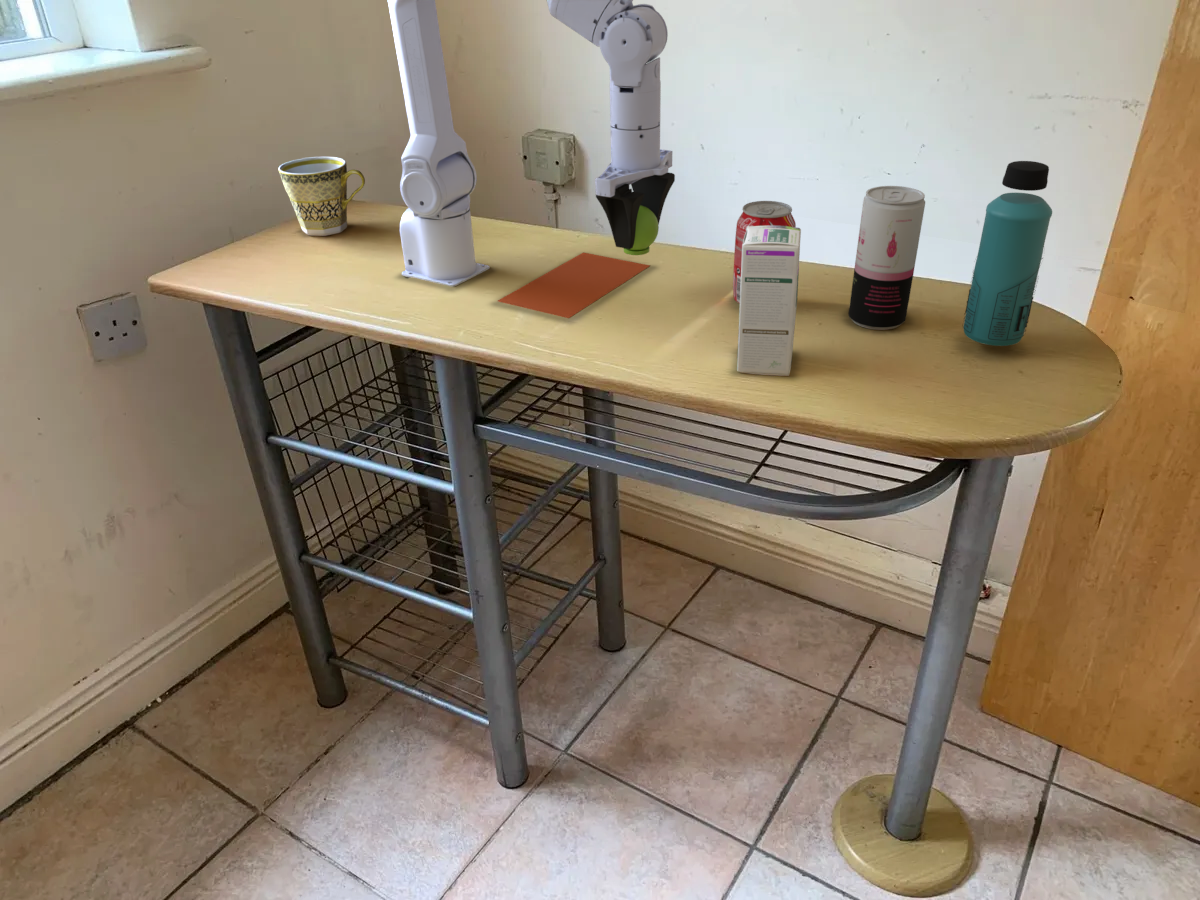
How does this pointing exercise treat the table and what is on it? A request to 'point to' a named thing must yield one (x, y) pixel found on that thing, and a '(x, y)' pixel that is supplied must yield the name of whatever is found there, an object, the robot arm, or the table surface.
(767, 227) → the syrup box
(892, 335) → the table surface
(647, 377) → the table surface
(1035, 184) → the beverage bottle
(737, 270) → the soda can
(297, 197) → the ceramic cup
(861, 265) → the beverage can
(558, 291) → the cloth
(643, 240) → the apple
